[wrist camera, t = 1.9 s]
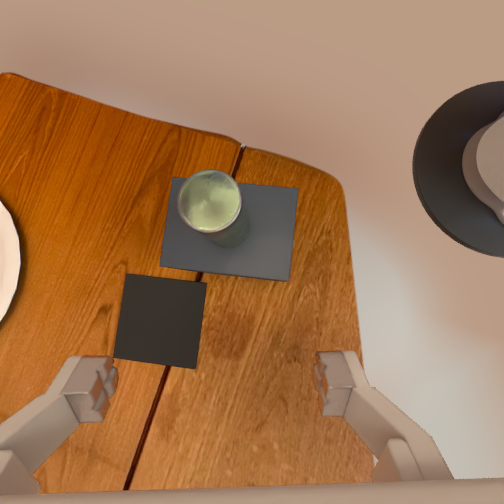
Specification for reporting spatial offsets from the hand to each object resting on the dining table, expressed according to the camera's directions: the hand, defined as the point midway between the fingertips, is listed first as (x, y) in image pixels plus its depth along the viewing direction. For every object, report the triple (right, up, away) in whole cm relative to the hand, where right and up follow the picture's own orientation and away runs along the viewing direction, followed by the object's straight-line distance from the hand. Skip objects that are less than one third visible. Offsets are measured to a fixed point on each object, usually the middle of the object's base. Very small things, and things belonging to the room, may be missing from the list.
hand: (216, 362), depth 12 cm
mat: (-12, -5, +30) cm, 32 cm away
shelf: (0, +6, +30) cm, 31 cm away
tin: (-1, +7, +19) cm, 20 cm away
